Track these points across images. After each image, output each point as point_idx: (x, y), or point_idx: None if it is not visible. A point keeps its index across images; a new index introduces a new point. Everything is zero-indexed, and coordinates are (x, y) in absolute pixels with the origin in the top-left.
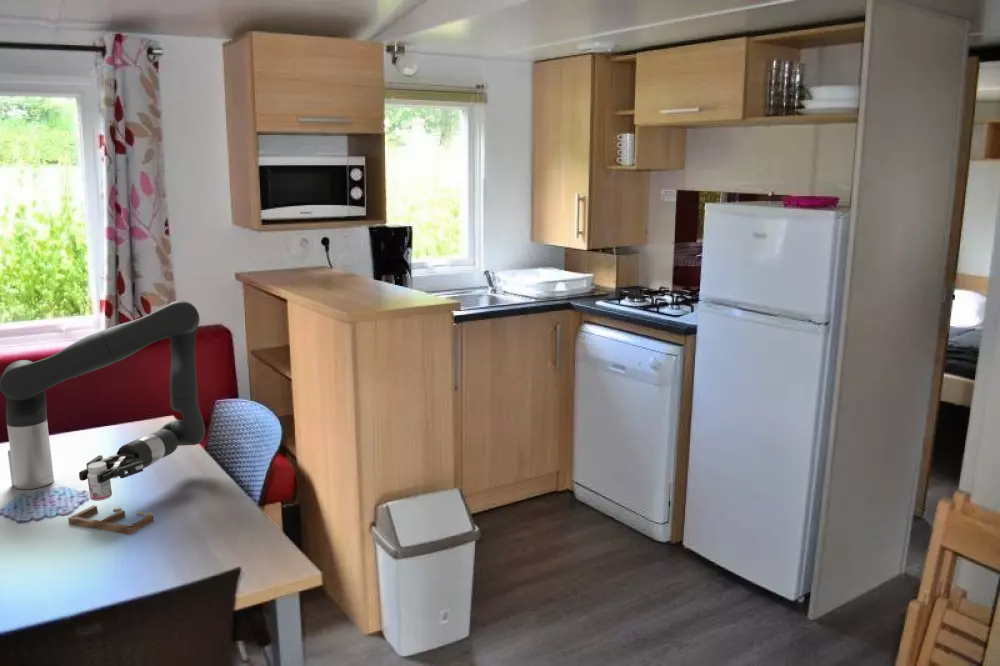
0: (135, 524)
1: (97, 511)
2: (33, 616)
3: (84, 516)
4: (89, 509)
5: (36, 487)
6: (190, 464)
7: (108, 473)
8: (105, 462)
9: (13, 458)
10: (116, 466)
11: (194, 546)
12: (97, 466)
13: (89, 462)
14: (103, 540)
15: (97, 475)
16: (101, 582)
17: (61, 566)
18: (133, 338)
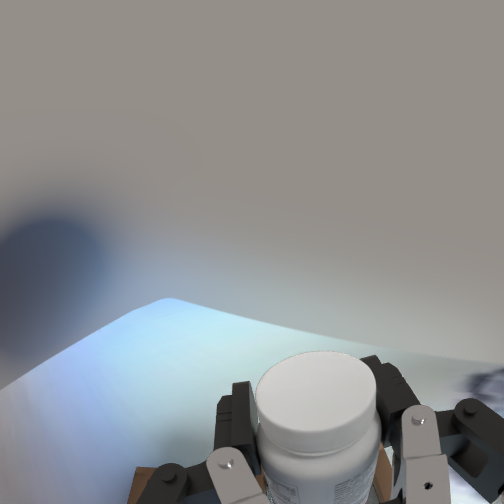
0: (136, 489)
1: None
2: (149, 305)
3: (375, 485)
4: (387, 499)
5: None
6: None
7: (219, 425)
8: (294, 429)
9: None
10: (229, 487)
11: (7, 450)
12: (279, 374)
13: (476, 410)
14: (192, 439)
15: (247, 381)
16: (109, 354)
17: (197, 357)
18: None
